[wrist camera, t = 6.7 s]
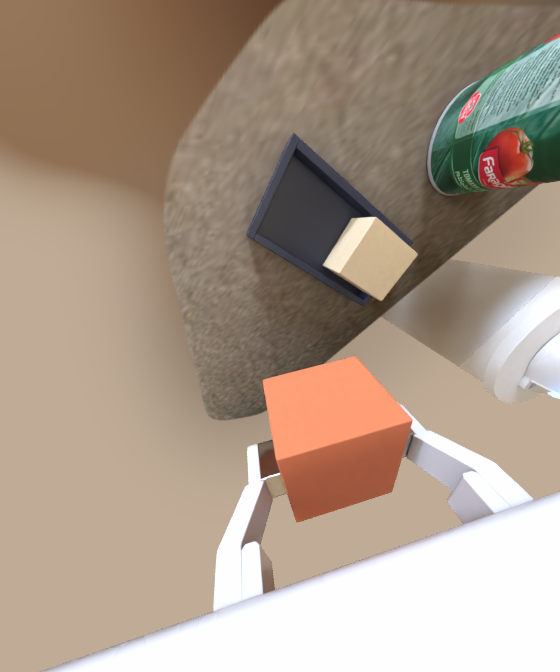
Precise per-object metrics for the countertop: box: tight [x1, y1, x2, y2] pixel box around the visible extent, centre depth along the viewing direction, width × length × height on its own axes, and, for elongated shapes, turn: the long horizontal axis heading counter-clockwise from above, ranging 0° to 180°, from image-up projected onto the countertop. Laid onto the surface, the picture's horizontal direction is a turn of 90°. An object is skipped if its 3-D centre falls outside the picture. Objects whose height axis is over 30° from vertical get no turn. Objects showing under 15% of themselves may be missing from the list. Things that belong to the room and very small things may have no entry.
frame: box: [246, 133, 413, 307], centre depth 19 cm, size 15×8×2 cm, turn 60°
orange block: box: [263, 356, 413, 522], centre depth 10 cm, size 6×5×4 cm
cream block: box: [323, 217, 418, 301], centre depth 20 cm, size 6×5×4 cm
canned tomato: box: [427, 33, 560, 196], centre depth 14 cm, size 8×8×11 cm
